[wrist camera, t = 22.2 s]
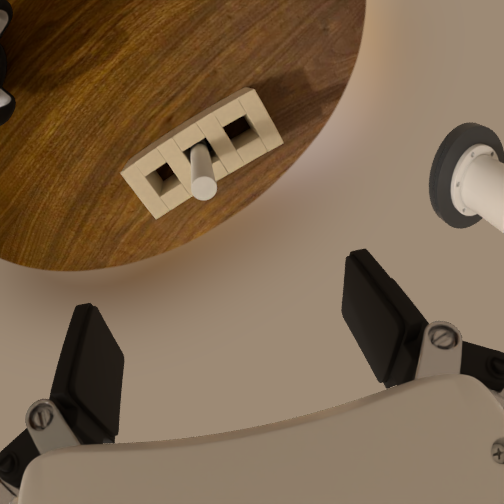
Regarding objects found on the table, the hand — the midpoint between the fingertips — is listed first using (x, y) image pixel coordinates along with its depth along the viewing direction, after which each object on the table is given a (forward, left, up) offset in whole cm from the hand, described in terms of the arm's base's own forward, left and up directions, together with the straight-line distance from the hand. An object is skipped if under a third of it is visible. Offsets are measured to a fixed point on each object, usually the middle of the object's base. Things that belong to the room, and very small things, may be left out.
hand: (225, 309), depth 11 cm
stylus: (0, 0, -26) cm, 26 cm away
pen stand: (0, 0, -26) cm, 26 cm away
